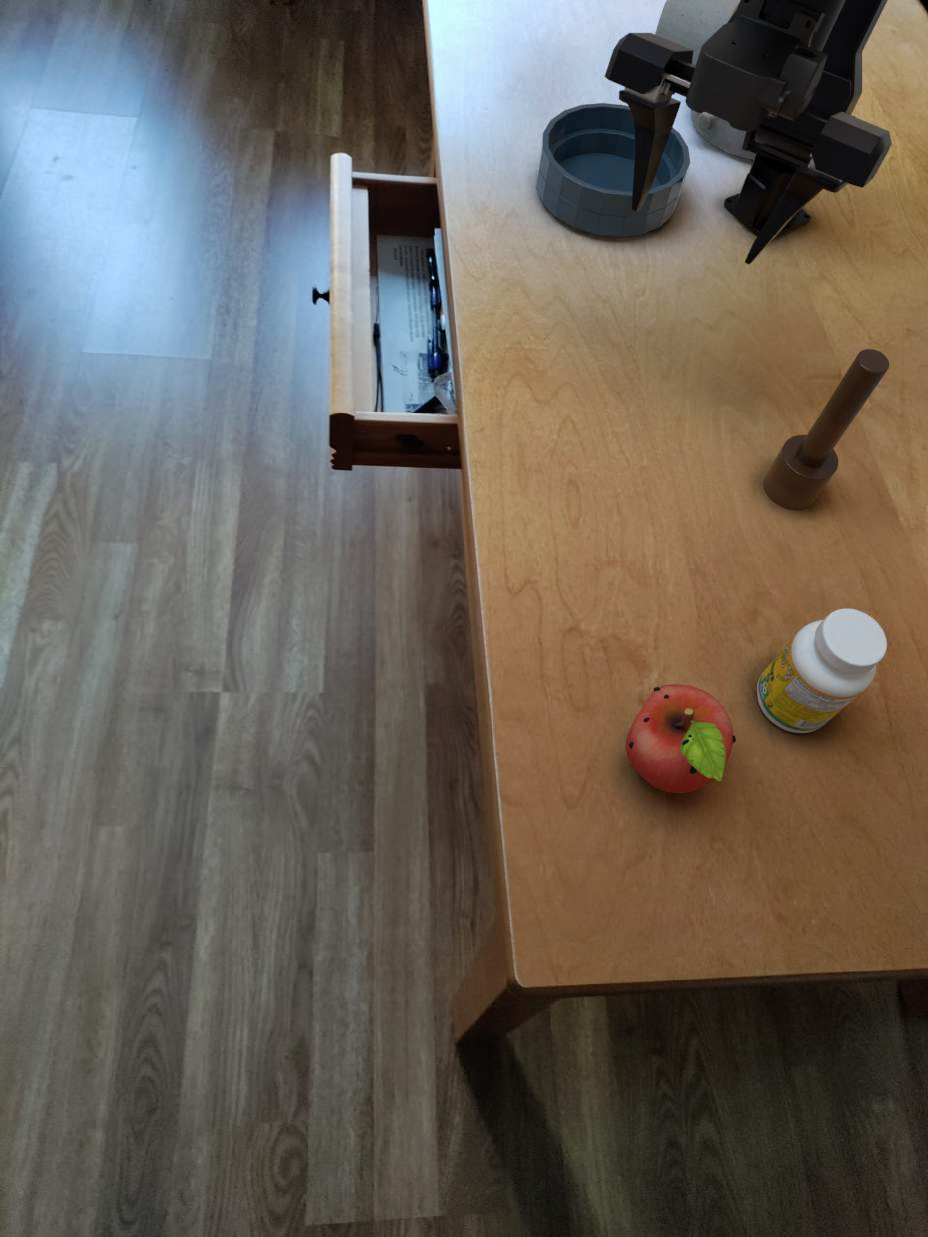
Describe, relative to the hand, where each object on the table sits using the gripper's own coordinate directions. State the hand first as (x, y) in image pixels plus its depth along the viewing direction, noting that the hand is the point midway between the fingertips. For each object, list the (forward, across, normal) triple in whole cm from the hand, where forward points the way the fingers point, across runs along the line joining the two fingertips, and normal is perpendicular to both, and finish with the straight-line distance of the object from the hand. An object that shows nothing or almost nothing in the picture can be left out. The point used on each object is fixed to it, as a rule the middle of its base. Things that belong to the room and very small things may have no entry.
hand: (691, 236), depth 63 cm
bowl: (+6, -14, +24) cm, 28 cm away
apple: (+24, +18, -24) cm, 38 cm away
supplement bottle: (+21, +23, -15) cm, 34 cm away
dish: (-1, -8, +42) cm, 43 cm away
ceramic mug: (-5, -19, +51) cm, 54 cm away
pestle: (+14, +16, +2) cm, 21 cm away
